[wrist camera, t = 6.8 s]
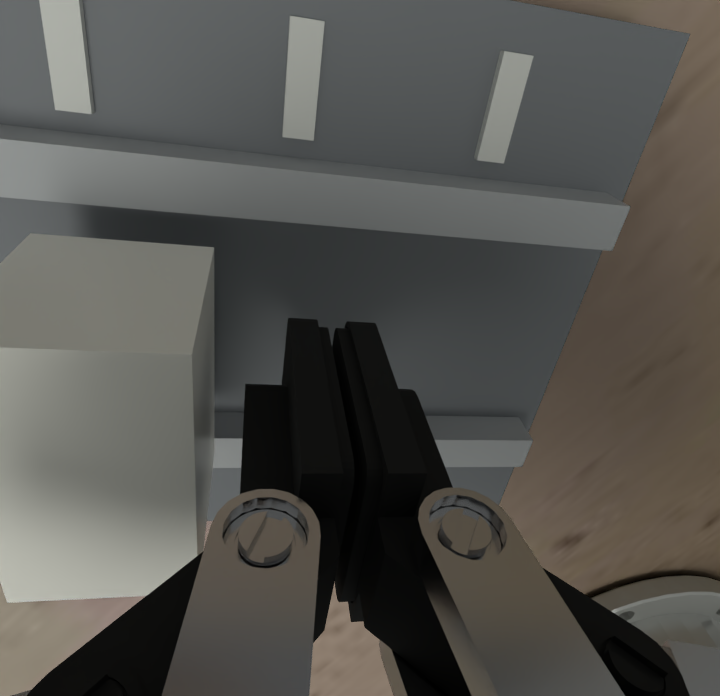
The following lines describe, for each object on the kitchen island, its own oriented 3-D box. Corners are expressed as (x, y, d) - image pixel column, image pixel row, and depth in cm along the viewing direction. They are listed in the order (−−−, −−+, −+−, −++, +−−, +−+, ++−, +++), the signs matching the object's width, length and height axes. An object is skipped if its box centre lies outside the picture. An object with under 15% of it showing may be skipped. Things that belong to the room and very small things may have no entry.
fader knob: (220, 219, 11) (191, 355, 7) (219, 410, 13) (198, 593, 9) (58, 204, 10) (-82, 343, 6) (90, 408, 13) (7, 602, 9)
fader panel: (632, 29, 12) (726, 36, 10) (475, 470, 19) (506, 539, 17) (-788, -232, 8) (-1302, -344, 5) (-294, 474, 15) (-407, 569, 12)
